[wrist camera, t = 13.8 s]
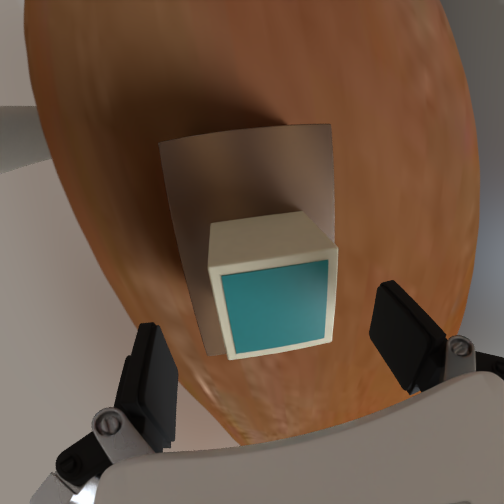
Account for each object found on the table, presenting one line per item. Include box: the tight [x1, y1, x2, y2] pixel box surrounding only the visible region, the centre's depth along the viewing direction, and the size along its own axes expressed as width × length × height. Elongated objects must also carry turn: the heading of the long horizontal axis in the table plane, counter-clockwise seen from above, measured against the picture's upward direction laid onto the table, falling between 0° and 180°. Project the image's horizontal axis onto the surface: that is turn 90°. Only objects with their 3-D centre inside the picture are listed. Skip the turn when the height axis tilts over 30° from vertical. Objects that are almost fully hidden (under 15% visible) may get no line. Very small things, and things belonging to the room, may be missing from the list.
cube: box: [208, 211, 338, 360], centre depth 15 cm, size 6×6×6 cm
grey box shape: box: [159, 124, 335, 356], centre depth 22 cm, size 10×16×10 cm, turn 6°
